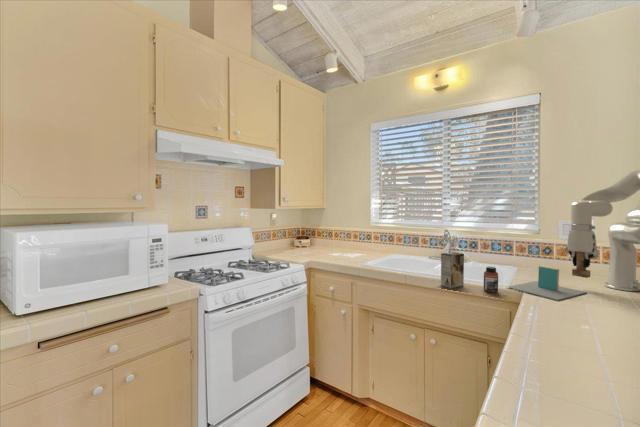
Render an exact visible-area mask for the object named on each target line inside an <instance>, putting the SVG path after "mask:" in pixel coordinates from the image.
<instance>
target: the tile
mask: <svg viewBox="0 0 640 427" xmlns="http://www.w3.org/2000/svg"><path fill="white" fill-rule="evenodd" d="M537 281H538V287H540V288H545V289H549V290H553V291H558V288H559V286H560V285H559V284H560V269H558V268H553V267H547V266H542V265H539V266H538V280H537Z"/></svg>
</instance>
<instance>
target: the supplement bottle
mask: <svg viewBox="0 0 640 427" xmlns="http://www.w3.org/2000/svg"><path fill="white" fill-rule="evenodd" d="M483 291H484V292H486V293H491V294H495V293H498V292H499V273H498V272H497V267H496V266H486V269H485V271H484V272H483Z"/></svg>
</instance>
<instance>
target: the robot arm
mask: <svg viewBox="0 0 640 427" xmlns="http://www.w3.org/2000/svg"><path fill="white" fill-rule="evenodd" d="M639 191H640V170H639V169H638V170H633V171H631V172H629V173H628V174H626V175H625V176H623V177H622V178H620V179H619V180H617V181H616V182H614V183H613V184H612V185H610V186H607V187H603V188H602V189H599V190H596V191H594V192H591V193H589V194H587V195H585V196H584V197H583V198H581V199H579V201H573V202H571V205H570V206H571V207H570V209H571V210H570V213H571V214H570V216H571V217H570V220H571V221H570V224H571V225H570V229H571V230H569V231H568V236H567V245H566V247H565V248H564V251H565V252H566V253H568V254H569V255H570V257H571V258H572V264H573V265H572V266H573V267H576V252H578V251H579V252H584V253H585V259H584V267H585V268H586V269H587V268H590V266H591V259H592V258H593V257H594V256H598V255H600V252H599V249H598V248H597V237H596V234H595V231H594V230H595V229H596V226H595V225H593V222H592V221H593V217H601V218H603V217H606V216H609V215H611V214H612V212H613V209H614V207H613V205H612V203H617V202H622V201H624V200H627V199H629V198H631V197H632V196H633V195H635V194H636V193H637V192H639ZM607 235H608V240H609V261H608V264H609V267H608V268H609V269H608V281H607V282H604V283H603V285H604V287H606V288H609V289H613V290H619V291H623V292H624V291H625V292H638V291H640V282H639V279H636V278H637V265H638V264H637V260H638V251H637V248H636V247H635V245H640V200H639V201H638V203H636V204H635V205H634V206H633V208H631V210H630V211H629V212H628V213H627V214H626V216H625V221H623V222H615V223H612V224H611V225H609V227H608V230H607Z"/></svg>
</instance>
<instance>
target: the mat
mask: <svg viewBox="0 0 640 427" xmlns="http://www.w3.org/2000/svg"><path fill="white" fill-rule="evenodd" d="M507 287H509V288H511V289H510V290H512V289H515V290H514V291H516V290H519V291H518V292H520V291H521V292H520V293H524V292H525V294H529V295H532V296H536V297H540V298H544V299H547V300H551V301H556V302H559V301H563V300H567V299H570V298H574V297H579V296H582V295H587V293H588V292H586V291H585V290H584V291H583V290H580V289H579V290H578V289H574V288H569V287H564V286H561V285H559V288H558V291H553V290H549V289H545V288H540V287H538V280H534V281H529V282H523V283H520V284H519V283H518V284H513V285H510V286H507Z"/></svg>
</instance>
